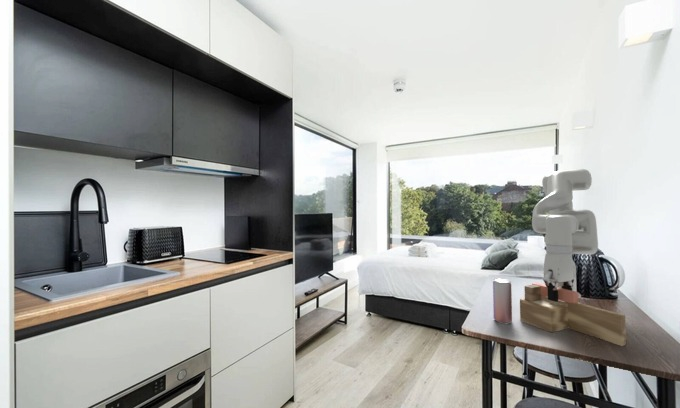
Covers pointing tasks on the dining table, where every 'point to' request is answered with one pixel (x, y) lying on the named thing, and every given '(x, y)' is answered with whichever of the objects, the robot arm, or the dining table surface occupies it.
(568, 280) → the robot arm
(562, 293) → the pink rectangular block
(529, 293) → the lid
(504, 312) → the beverage can
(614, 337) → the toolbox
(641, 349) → the dining table surface
